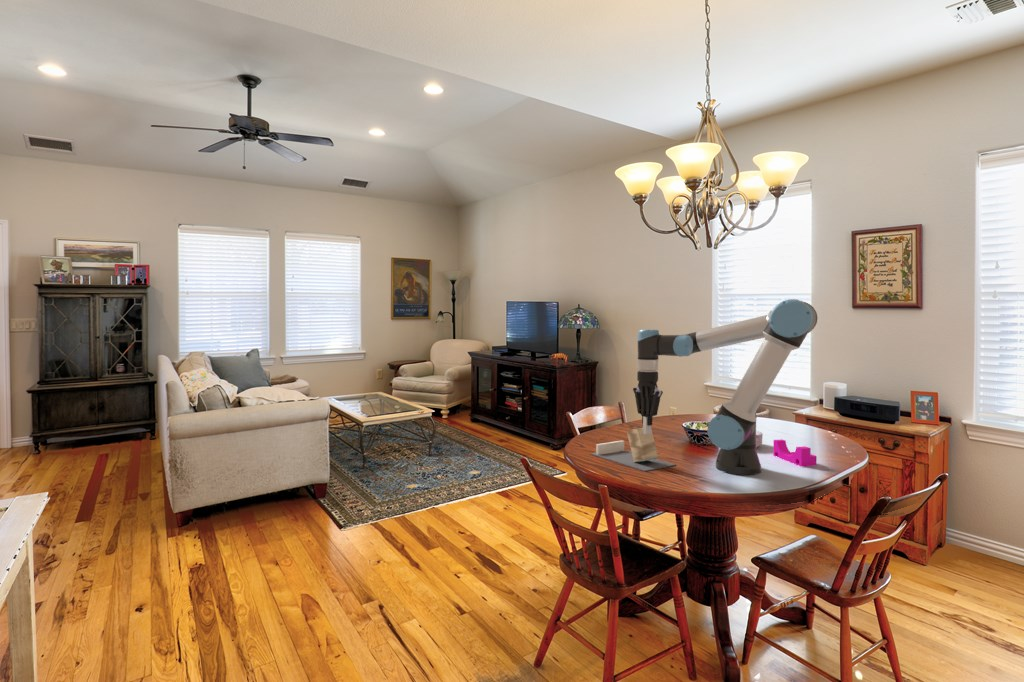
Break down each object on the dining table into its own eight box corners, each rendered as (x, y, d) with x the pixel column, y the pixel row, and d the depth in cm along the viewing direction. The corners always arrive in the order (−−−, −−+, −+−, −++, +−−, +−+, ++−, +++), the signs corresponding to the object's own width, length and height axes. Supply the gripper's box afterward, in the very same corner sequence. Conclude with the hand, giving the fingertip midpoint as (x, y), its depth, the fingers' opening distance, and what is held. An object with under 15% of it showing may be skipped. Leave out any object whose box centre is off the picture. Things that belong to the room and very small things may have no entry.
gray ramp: (675, 465, 196) (675, 464, 196) (644, 471, 188) (644, 470, 188) (619, 449, 222) (619, 448, 222) (590, 454, 214) (590, 453, 214)
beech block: (658, 458, 198) (650, 426, 201) (644, 460, 194) (637, 428, 197) (647, 460, 203) (640, 429, 206) (633, 462, 199) (626, 430, 202)
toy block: (816, 468, 194) (816, 447, 193) (801, 469, 192) (801, 448, 192) (787, 458, 208) (787, 439, 208) (773, 458, 207) (773, 439, 207)
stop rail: (624, 450, 219) (624, 440, 218) (598, 454, 211) (598, 444, 211) (622, 450, 220) (622, 440, 219) (596, 454, 212) (596, 444, 212)
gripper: (668, 371, 193) (667, 435, 194) (642, 369, 204) (641, 429, 205) (653, 372, 189) (652, 438, 190) (627, 369, 201) (627, 431, 201)
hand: (647, 433), depth 198 cm, fingers closed
